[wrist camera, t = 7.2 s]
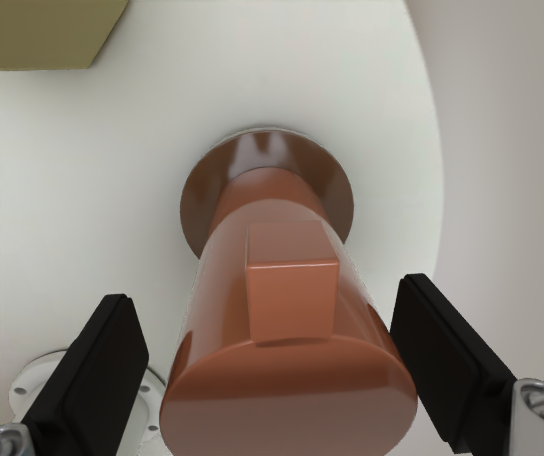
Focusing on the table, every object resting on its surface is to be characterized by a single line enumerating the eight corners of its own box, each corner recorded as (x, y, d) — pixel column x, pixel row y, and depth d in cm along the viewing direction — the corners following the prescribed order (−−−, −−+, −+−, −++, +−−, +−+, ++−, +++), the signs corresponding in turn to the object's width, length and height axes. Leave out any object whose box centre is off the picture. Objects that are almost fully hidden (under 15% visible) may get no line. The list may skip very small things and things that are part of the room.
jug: (169, 129, 15) (-20, 267, 5) (358, 124, 16) (582, 239, 5) (196, 286, 20) (131, 535, 9) (341, 278, 20) (439, 509, 10)
